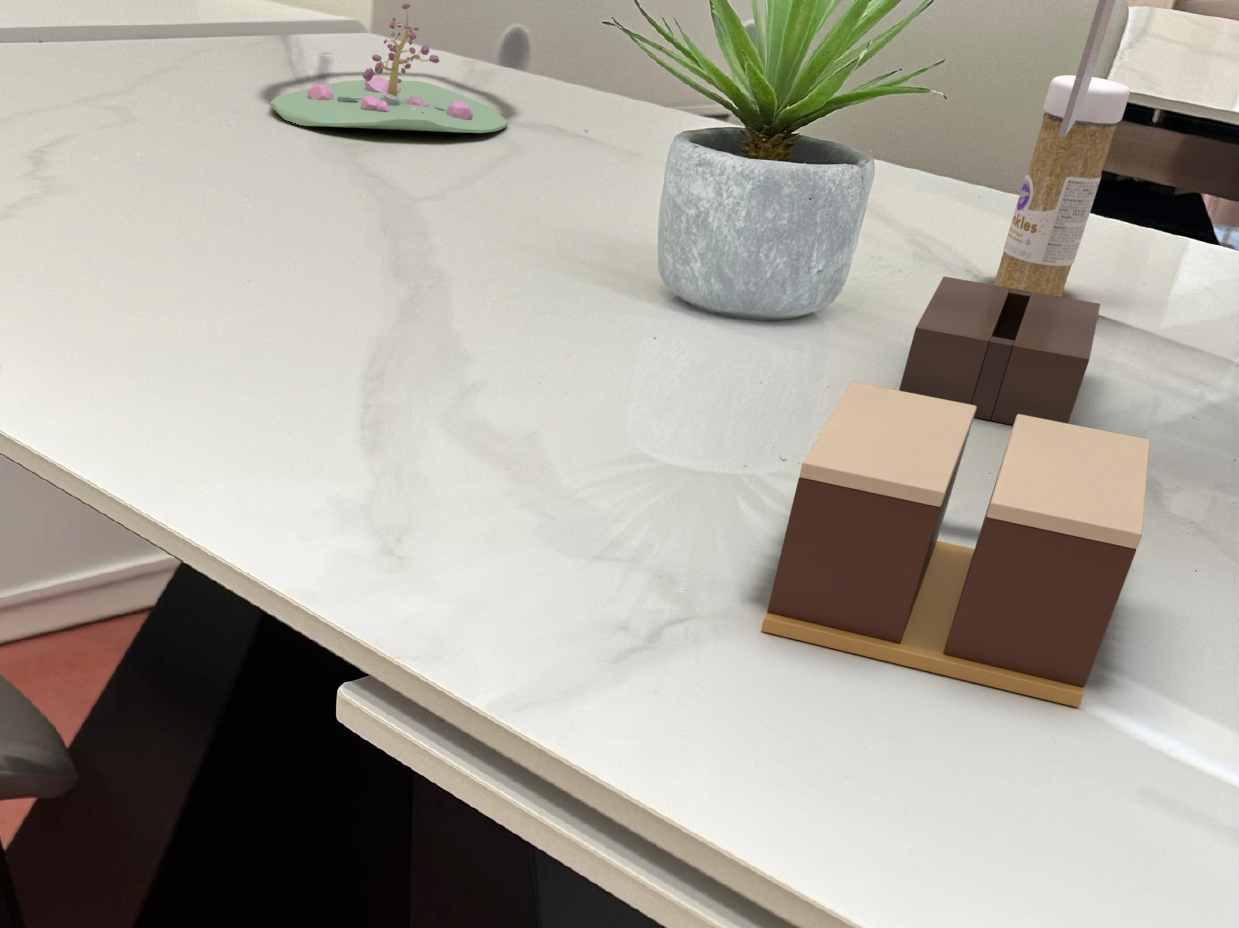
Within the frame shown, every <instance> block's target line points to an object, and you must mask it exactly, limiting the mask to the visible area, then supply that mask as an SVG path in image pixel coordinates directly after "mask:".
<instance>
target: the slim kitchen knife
mask: <svg viewBox="0 0 1239 928" xmlns="http://www.w3.org/2000/svg"><path fill="white" fill-rule="evenodd" d="M1115 3H1116V0H1098V2H1097V5H1096V8H1095V12H1094V15H1093V19H1092V21H1091V25H1090V28H1089V32H1088V34H1087V38H1086V42H1085V45H1084V48H1083V52H1082V55H1081V59H1080V62H1079V66H1078V68H1077V72H1076V75H1075V76H1076V78H1075V81H1074V85H1073V88H1072V91H1071V95H1070V98H1069V101H1068V105H1067V108H1066V111H1065V115H1064V118H1063V121H1062V125H1061V128H1060V131H1059V135H1058V137H1062V138H1065V136H1066V135H1067V133H1068V132H1069V130H1070V128H1071V127H1072V125H1073V124H1074V122H1075V121H1076V119H1077V117H1078V116H1079V114H1080V113H1081V111H1082V108H1083V105H1084V101H1085V98H1086V95H1087V91H1088V88H1089V85H1090V82H1091V78H1092V77H1093V75H1094V72H1095V68H1096V65H1097V62H1098V58H1099V55H1100V53H1101V50H1102V45H1103V42H1104V39H1105V36H1106V33H1107V29H1108V27H1109V23H1110V19H1111V16H1112V13H1113V9H1114V6H1115Z"/></svg>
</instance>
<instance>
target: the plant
mask: <svg viewBox="0 0 1239 928" xmlns="http://www.w3.org/2000/svg"><path fill="white" fill-rule="evenodd" d="M409 8H411V4H409V3H407V2H405V3H403V4H402V5H401V9H403V10H405V11H406V12H405V19H406V20H405V21H406V24H405V25H404V24H403V23H401V22H397V23H396V19H397V18H396V17H393V18H392V21H391V22H390V23H389V24H388V27H389V28H390V29H392V30H394V29H395V28H396V27H397V28H400V29H401V28H402V29H403V30H405V33H404V36H403V38H402V40H401V42H400V43H398V42H397V41H396V40H397V38H395V39H391V40H388V38H385V39H384V40H383V44H387V42H388V44H387V45H386V47H387V49H388V50H389V52H388V53H387V54H388V55H387V56H388V58H387V60H386V61H385V62H383V61H382V56H381V55H379V54H377V53H375V54H374V55H372V56H371V59H372V60H373V62H377V63H376V64H375V66H374V69H373V68H372V67H369V68H366V69H365V71H364V72H363V73H362V78H363V79H353V80H344V81H343V80H342V81H337V82H333V83H329V84H328V83H327V84H323V83H313V84H312V86H311V87H309V88H306V89H302V90H298V91H294V92H289V93H285V94H281V95H277V96H276V97H275V98H273V99H272V100H271V101H270V102H269V106H270V107H271V108H272V109H273V110H274V111H275V112H276V113H277V114H278V115H279V116H280V117H281V118H283V120H285V121H286V120H287V121H286V122H288V121H290V122H293V123H292V124H294V123H296V124H295V125H298V124H299V125H298V126H302V125H303V126H304V127H324V128H325V127H326V128H329V127H330V128H346V129H348V128H349V129H369V130H370V129H371V130H373V129H374V130H392V131H393V130H395V131H396V130H397V131H419V132H443V133H471V134H484V133H492V132H494V133H495V132H497V131H500V130H502V129H505V128H506V127H507V126H508V123H509V121H508V120H507V118H505V117H504V116H503V115H502V114H500V113H498V112H497V111H496V110H494V109H492V108H491V107H489V106H488V105H487V104H484V103H483V102H480V101H477V100H475V99H472V98H470V97H467V96H464V95H462V94H459V93H457V92H454V91H451V90H449V89H447V88H445V87H442V86H439V85H436V84H433V83H429V82H426V81H425V82H424V81H420V80H402V78H399V67H400V65H402V66H403V67H402V68H401V69H400V72H401V73H402V74H403V75H404V74H406V72H407V71H406V70H409V69H411V68H412V64H411V63H410V62H413V61H414V60H419V61H421V62H423V63H424V62H425V63H426V62H430V63H433V64H439V62H440V58H439V56H438V55H437V54H431V55H430V56H429V58H428V59H425V60H424V59H423V58H422V59H421V56H420V54H422V55H423V56H427V55H429V53H430V47H429V45H428V44H424V45H422V46H421V48H420V50H419V52H418V53H417V54H415V53H416V48H414V47H411V45H412V44H414V43H413V41H414V40H416V38H417V34H416V33H415V32H416V31H419V29H420V27H418V26H414V27H412V26H411V25H409V16H408V10H407V9H409ZM395 35H396V33H395V32H394V31H392V32H391V34H390V36H391V38H394V36H395ZM400 36H401V32H398V33H397V37H400ZM408 39H409V40H408ZM407 41H408V44H409V45H410V47H409V49H405V50H403V49H404V47H405V45H406V43H407ZM403 53H410V54H411V55H412V56H410V57H409V56H406V58H404V59H403V58H401V54H403ZM389 61H392V64H391V67H388V64H389ZM384 63H386V64H385V65H384ZM404 64H405V65H404ZM384 70H385V71H387V72H390V76H389V80H388V79H386V78H385V77H382V76H375V75H379V74H380V75H381V74H382V73H383V71H384ZM290 122H289V123H290Z"/></svg>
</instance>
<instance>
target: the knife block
mask: <svg viewBox="0 0 1239 928" xmlns="http://www.w3.org/2000/svg"><path fill="white" fill-rule="evenodd" d="M1100 310H1101V303H1098V302H1093V301H1092V302H1091V301H1087V300H1081V299H1076V298H1069V297H1065V296H1061V297H1059V296H1053V295H1047V294H1042V293H1036V292H1032V293H1031V291H1025V290H1019V289H1013V288H1008V287H1002V286H996V285H994V284H990V283H984V282H979V281H973V280H967V279H961V278H956V277H950V276H943V277H942V278H941V281H939V284H938V286H937V288H936V290H935V291H934V293H933V295H932V297H931V299H930V300H929V302H928V304H927V306H926V308H925V310H924V311H923V314H922V315H921V317H920V319H919V321H918V323H917V324H916V327H915V330H914V333H913V336H912V340H911V344H910V348H909V352H908V354H907V355H908V356H907V358H906V362H905V366H904V370H903V373H902V378H901V380H900V381H901V382H900V385H899V388H898V391H903V392H908V393H913V394H918V395H924V396H929V397H934V398H939V399H944V400H949V401H954V402H959V403H964V404H970V405H975V406H976V407H977V408H976V412H975V415H974V418H976V419H981V420H985V421H991V422H996V423H1000V424H1001V423H1002V424H1006V425H1011V426H1013V425H1014V422H1015V419H1016V416H1017V414H1021V415H1026V416H1031V417H1036V418H1041V419H1046V420H1051V421H1056V422H1062V423H1067V424H1070V423H1069V422H1070V420H1071V416H1072V414H1073V411H1074V408H1075V404H1076V402H1077V398H1078V396H1079V393H1080V389H1081V387H1082V383H1083V380H1084V377H1085V374H1086V371H1087V369H1088V366H1089V363H1090V359H1091V354H1092V349H1093V343H1094V339H1095V333H1096V329H1097V323H1098V319H1099V314H1100Z"/></svg>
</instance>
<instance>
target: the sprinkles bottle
mask: <svg viewBox="0 0 1239 928" xmlns="http://www.w3.org/2000/svg"><path fill="white" fill-rule="evenodd" d="M1075 78H1076V75H1069V74H1068V75H1065V74H1064V75H1059V76H1058V75H1057V76H1055V77H1053V78H1052V80H1051V81H1050V84H1049V87H1048V90H1047V93H1046V97H1045V100H1044V104H1043V107H1042V109H1043V112H1044V113H1043V115H1042V123H1041V126H1040V129H1039V133H1038V136H1037V140H1036V143H1035V147H1034V150H1033V153H1032V157H1031V159H1030V163H1029V166H1028V171H1027V174H1026V175H1025V177H1024V179H1023V183H1022V187H1021V189H1020V193H1019V196H1018V199H1017V203H1016V207H1015V210H1014V213H1013V216H1012V219H1011V223H1010V226H1009V229H1008V232H1007V236H1006V238H1005V243H1004V246H1003V253H1002V256H1001V259H1000V263H999V265H998V266H999V267H998V268H997V272H996V275H995V279H994V281H993V285H996V286H1002V287H1008V288H1013V289H1019V290H1025V291H1031V293H1032V292H1036V293H1042V294H1047V295H1053V296H1059V297H1063V294H1064V290H1065V286H1066V284H1067V281H1068V277H1069V276H1070V275H1069V274H1070V271H1071V269H1072V266H1073V264H1074V262H1075V259H1076V256H1077V253H1078V252H1079V251H1078V250H1079V248H1080V244H1081V241H1082V238H1083V236H1084V232H1085V229H1086V226H1087V222H1088V220H1089V216H1090V213H1091V210H1092V208H1093V204H1094V201H1095V198H1096V194H1097V192H1098V189H1099V185H1100V182H1101V180H1102V179H1101V178H1102V172H1103V169H1104V166H1105V162H1106V160H1107V157H1108V153H1109V150H1110V147H1111V143H1112V141H1113V140H1112V139H1113V137H1114V133H1115V131H1116V130H1117V128H1118V123H1119V122H1121V121H1122V120H1123V116H1124V114H1125V111H1126V107H1127V104H1128V100H1129V96H1130V93H1131V90H1130V88H1129V87H1128V86H1127V85H1125V84H1124V83H1121V82H1118V81H1115V80H1114V81H1113V80H1110V79H1106V78H1100V77H1094V76H1092V78H1091V82H1090V85H1089V88H1088V91H1087V95H1086V98H1085V101H1084V105H1083V108H1082V111H1081V113H1080V114H1079V116H1078V117H1077V119H1076V121H1075V122H1074V124H1073V125H1072V127H1071V128H1070V130H1069V132H1068V133H1067V135H1066V136H1065V138H1062V137H1058V135H1059V131H1060V128H1061V125H1062V121H1063V118H1064V115H1065V111H1066V108H1067V105H1068V101H1069V98H1070V95H1071V91H1072V88H1073V85H1074V81H1075Z"/></svg>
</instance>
